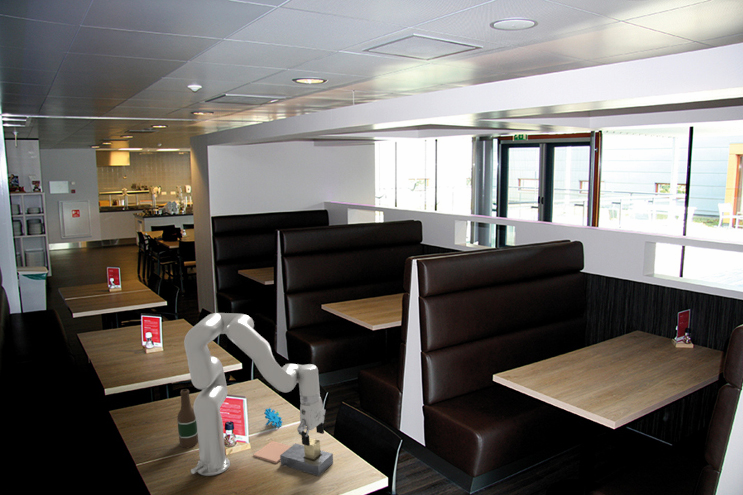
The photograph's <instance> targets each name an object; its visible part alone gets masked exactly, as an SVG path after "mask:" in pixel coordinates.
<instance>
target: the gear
mask: <svg viewBox="0 0 743 495" xmlns="http://www.w3.org/2000/svg"><path fill="white" fill-rule="evenodd" d="M264 411H265V412H264V413H263V414H264V415H265V416H264V418H265V419H267V422H266V423H265V426H268V425H269V424H270V423H271V425H272V427H276V428H279V427H281V426H282V424H283V420H282V417H281V416H280V412H279V411H278V410H277V411H276V410H275V409H272V408H270V407H269V408H266V409H265V410H264Z"/></svg>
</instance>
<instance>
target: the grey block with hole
mask: <svg viewBox="0 0 743 495" xmlns="http://www.w3.org/2000/svg"><path fill="white" fill-rule="evenodd" d="M291 446H292V447H290V448H289V449H288V450H286V451H285V452H284V453H282V454H281V455H280V460H281V461H280V465H281V466H283V467H286V468H290V469H293V470H297V471H300V472H304V473H307V474H310V475H314V476H316V475H317V477H319V476H321V475H322V474H323V473H325V471H326V470H327V469H328V468H329V467H331V466H332V464H333V463H334V456H333V454H334V453H333V452H328V451H324V450H321V449H320V453H321V456H320V457H319V458H318V459H317V460H316V461H311V460H308V459H305V452H304V445H303V444H299V443H294V444H293V445H291Z"/></svg>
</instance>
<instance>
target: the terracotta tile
mask: <svg viewBox="0 0 743 495" xmlns="http://www.w3.org/2000/svg"><path fill="white" fill-rule="evenodd" d="M292 446H293V445H288V444H284V443H281V442H278V441H273V440H272V441H270V442H269V443H267V444H265V445H264V446H263V447H262V448H260V449H259V450H257V451H256V452H254V453H253V456H252V457H254V458H257V459H261V460H264V461H267V462H270V463H274V464H278V463H280V462H281V460H280V455H281V454H282V453H284V452H285V451H286V450H288V449H289V448H290V447H292Z"/></svg>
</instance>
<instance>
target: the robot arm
mask: <svg viewBox="0 0 743 495" xmlns="http://www.w3.org/2000/svg"><path fill="white" fill-rule="evenodd" d="M254 323H255V321H254V320H253V318H252V317H250V316H249V315H247V314H244V313H234V312H233V313H229V312H228V313H227V312H226V313H225V312H214V313H210V314H207V316H205V317H204V318H202V319H201V320H200V321H199V322H198V323H196V324H195V325H194V326H192V328H190V329H189V330H188V331H187V333H186V335H185V337H184V341H183V345H184V350H185V355H186V359H187V366H188V370H189V371H188V372H189V375H190V380H191V384H192V385H193V386H194V388H196V389H197V390H201V391H200V392H199V393H198V395H197V396H196V398H195V399H194V401H193V407H192V409H193V410H194V414H195V417H196V422H197V432H198V453H199V460H198V461H197V464H196V465H195V466H194V467H193V468H191V469H190V473H191V474H194V475H195V474H196V473H198V474H199V475H201V476H205V477H208V476H210V477H211V476H216V475H219V474H222V473H223V472H225V471H226V470H228V469H229V468H230V465H231V462H230V459H229V458H228V457H226V450H225V448H226V447H225V436H224V424H223V418H222V414H221V407H222V405H223V404H224V403H225V400H226V399H227V397H228V396H227V395H228V386H227V381H226V376H225V370H224V367H223V364H222V362H221V360H220V359H219V358H218V357H216V356H214V355H212V354H211V351H210V349H209V346H208V344H209V343H211V342H212V341H214V340H215V339H216V338H218V336H220V335H224V334H225V335H226V336H227V338H228V339H229V340H230V341H231V342H232V343H233V344H235V345H236V346H237V347H238V348H239V349H240V350H241V351H242V352H243V353H244V354H245V355H247V356H248V357H249V358H250V359H251V360H252V361H253V362H254V365H255V366H256V368H257V370H258V371H259V373H260V375H261V376H262V377H263V379H265V380H266V381H267V382H268V383H269V384H270V385H271V386H272V387H273V388H275V389H276V390H278V391H279V392H282V393H289V392H292V390H294V388H295V387H296V385H297V384H298V388H299V398H300V400H299V401H300V406H299V408H300V409H299V417H300V418H299V420H300V421H299V425H298V426H297V428H296V429H297V433H298V435H300V436H301V445H303V446H304V445H307V446H309V445H310V441H309V439H310V435H309V433H310V431H312V430H314V429H315V428H316V429H315V430H316V433H317V434H322V435H323V434H325V426H324V423H325V418H326V409H325V408H324V405H323V400H322V397H321V394H320V393H321V391H320V381H319V380H320V379H319V369H318V367H317V366H316V365H315V364H311V363H308V364H299V363H297V364H296V363H285V365H283V366H280V364H279V363H278V362H277V360H276V359H275V356H274V355H273V352H272V347H271V345H270V342H268V340H266V339H265V338H264V337H263V336H261V334H259V333H258V332H257V331H256V330H255V329H254V327H255V324H254ZM305 430H306V431H305Z"/></svg>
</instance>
